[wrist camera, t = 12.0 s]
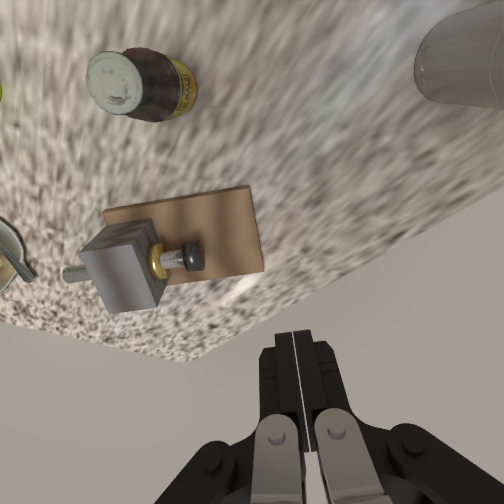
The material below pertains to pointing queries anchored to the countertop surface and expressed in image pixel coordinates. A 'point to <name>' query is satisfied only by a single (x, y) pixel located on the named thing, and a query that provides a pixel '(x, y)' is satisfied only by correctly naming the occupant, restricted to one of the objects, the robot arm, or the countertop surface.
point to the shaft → (155, 262)
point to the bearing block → (171, 245)
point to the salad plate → (11, 257)
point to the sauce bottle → (141, 84)
